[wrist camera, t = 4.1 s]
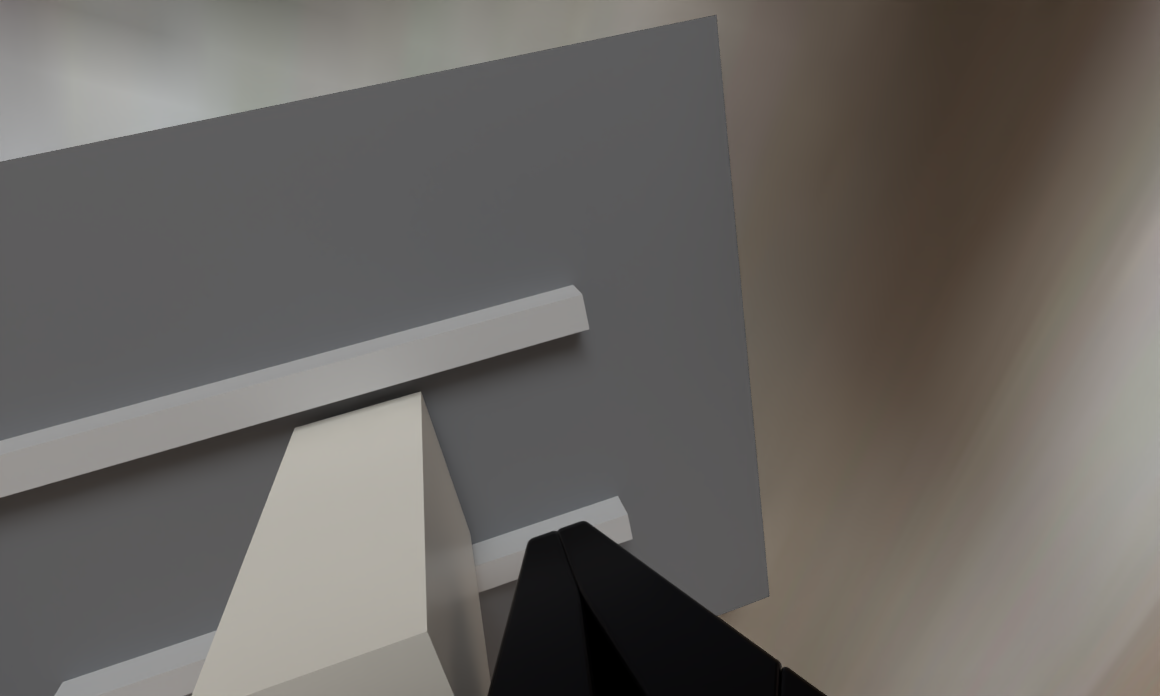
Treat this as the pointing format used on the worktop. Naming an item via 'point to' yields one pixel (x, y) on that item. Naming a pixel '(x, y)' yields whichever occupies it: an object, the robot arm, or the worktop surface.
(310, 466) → the slider paddle
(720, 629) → the robot arm
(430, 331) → the panel
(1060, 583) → the worktop surface
